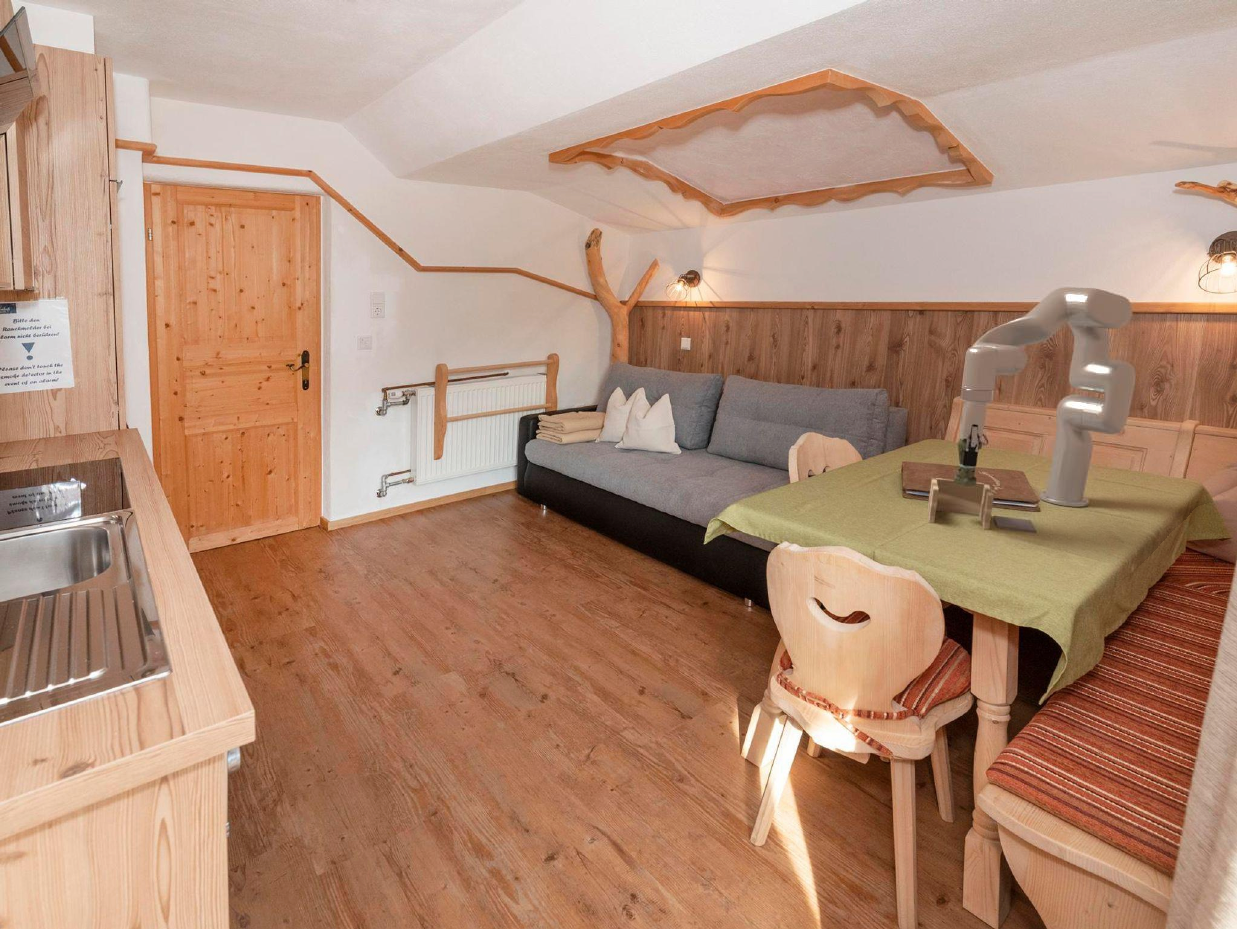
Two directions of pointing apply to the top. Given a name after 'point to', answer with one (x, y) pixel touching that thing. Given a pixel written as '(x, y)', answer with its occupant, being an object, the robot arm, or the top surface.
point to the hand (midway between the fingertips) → (968, 461)
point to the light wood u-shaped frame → (960, 499)
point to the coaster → (1014, 524)
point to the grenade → (966, 472)
